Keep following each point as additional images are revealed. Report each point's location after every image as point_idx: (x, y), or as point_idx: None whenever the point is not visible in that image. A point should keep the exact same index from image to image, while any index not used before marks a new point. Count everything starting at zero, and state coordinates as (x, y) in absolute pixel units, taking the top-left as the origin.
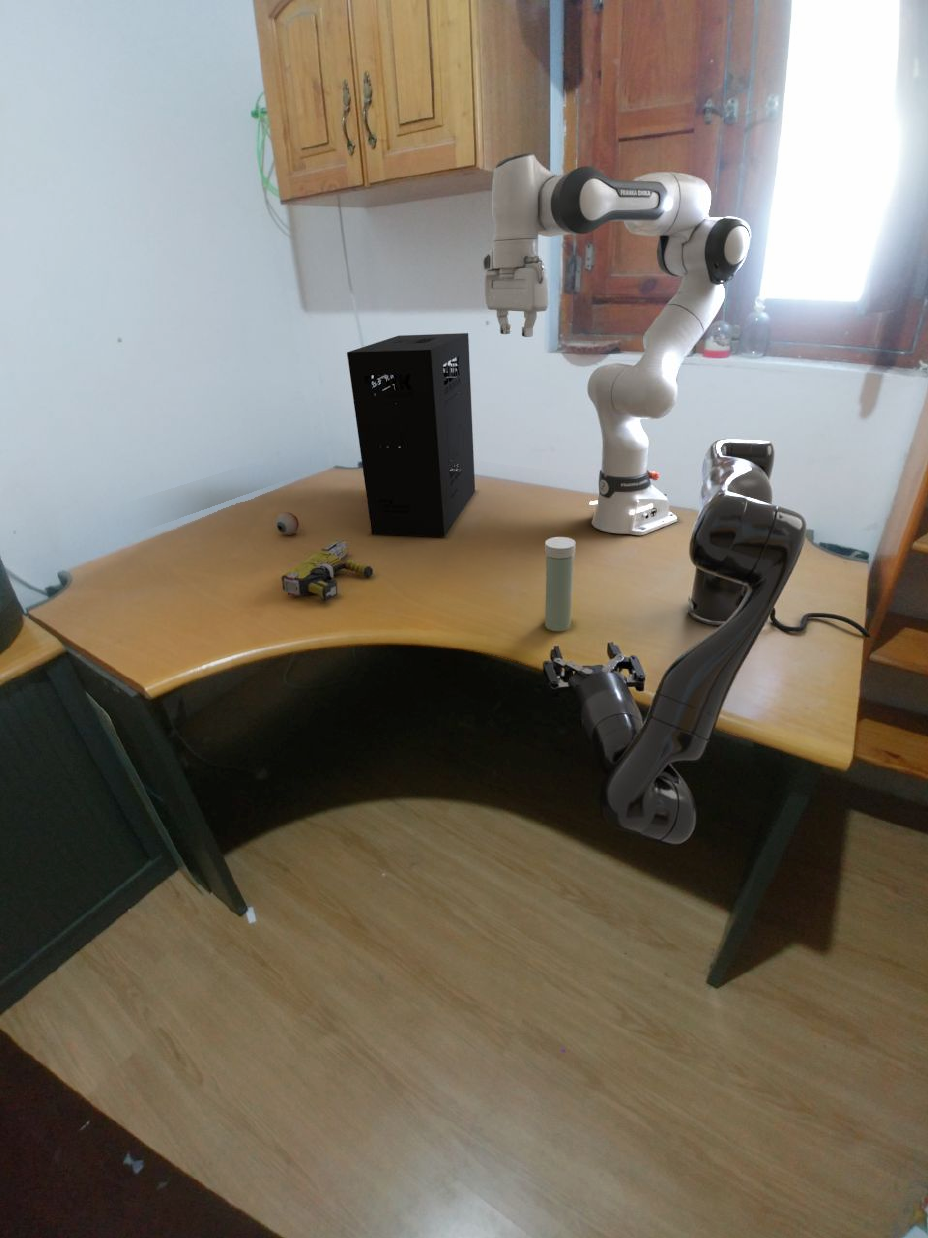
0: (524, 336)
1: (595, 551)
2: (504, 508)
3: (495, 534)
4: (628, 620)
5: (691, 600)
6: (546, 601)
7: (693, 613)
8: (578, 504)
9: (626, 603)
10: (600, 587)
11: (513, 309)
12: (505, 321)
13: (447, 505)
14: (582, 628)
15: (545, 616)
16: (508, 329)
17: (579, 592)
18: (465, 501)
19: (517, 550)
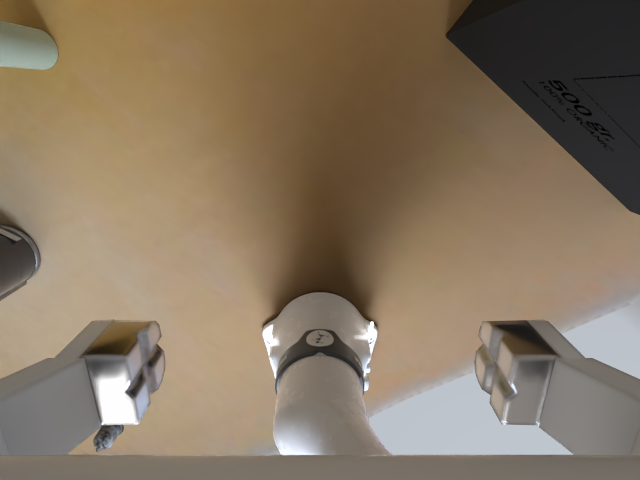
0: (128, 321)
1: (245, 241)
2: (503, 214)
3: (400, 136)
4: (24, 150)
5: (5, 235)
6: (5, 21)
7: (1, 226)
8: (432, 328)
9: (71, 177)
10: (129, 175)
11: (139, 457)
12: (571, 423)
13: (493, 56)
14: (20, 78)
15: (32, 28)
16: (490, 379)
17: (125, 138)
18: (576, 157)
19: (313, 135)
